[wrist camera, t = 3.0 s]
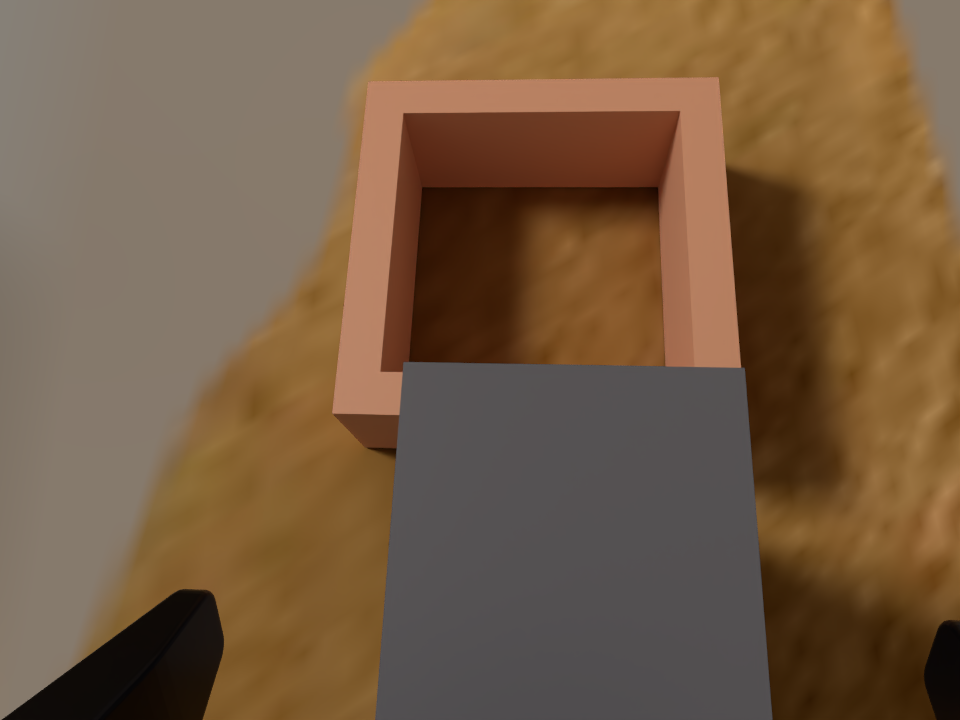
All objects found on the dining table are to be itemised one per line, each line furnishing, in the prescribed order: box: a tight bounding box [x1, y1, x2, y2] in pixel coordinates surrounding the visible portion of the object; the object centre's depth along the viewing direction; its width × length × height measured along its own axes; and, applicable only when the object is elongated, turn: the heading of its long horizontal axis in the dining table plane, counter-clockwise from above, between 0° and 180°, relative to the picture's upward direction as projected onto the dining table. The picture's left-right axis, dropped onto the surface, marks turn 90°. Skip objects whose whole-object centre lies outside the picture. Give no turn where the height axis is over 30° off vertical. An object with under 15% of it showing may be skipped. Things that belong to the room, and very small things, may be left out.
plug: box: [375, 362, 772, 720], centre depth 13 cm, size 4×4×11 cm
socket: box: [332, 77, 741, 448], centre depth 19 cm, size 9×9×4 cm
